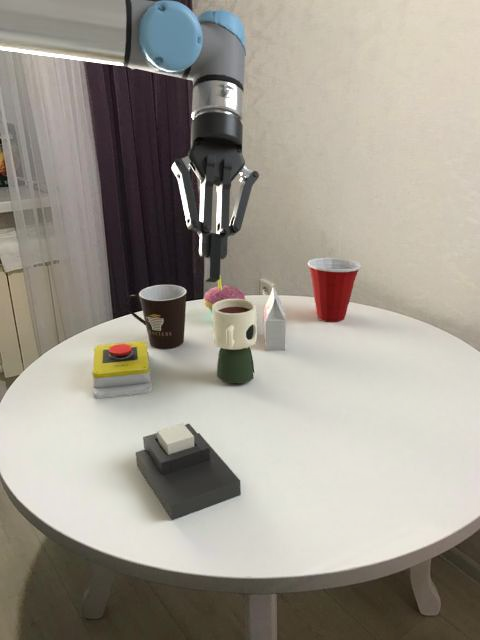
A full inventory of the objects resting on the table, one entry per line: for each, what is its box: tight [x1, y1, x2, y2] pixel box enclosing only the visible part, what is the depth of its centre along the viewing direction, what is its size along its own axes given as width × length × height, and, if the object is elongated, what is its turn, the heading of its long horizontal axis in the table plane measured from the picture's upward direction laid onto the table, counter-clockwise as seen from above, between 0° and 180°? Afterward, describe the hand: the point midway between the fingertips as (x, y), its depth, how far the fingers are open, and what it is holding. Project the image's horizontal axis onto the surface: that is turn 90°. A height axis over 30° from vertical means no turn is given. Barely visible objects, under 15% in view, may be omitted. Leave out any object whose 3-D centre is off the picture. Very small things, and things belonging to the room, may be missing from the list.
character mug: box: [211, 299, 258, 384], centre depth 96 cm, size 11×7×13 cm, turn 174°
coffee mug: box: [124, 284, 188, 350], centre depth 111 cm, size 12×9×10 cm
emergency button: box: [92, 340, 153, 399], centre depth 99 cm, size 9×4×15 cm
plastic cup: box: [306, 257, 362, 323], centre depth 121 cm, size 11×11×12 cm
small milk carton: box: [263, 287, 287, 351], centre depth 110 cm, size 4×7×10 cm, turn 2°
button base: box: [135, 423, 242, 521], centre depth 74 cm, size 12×9×4 cm
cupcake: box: [203, 276, 246, 315], centre depth 120 cm, size 9×8×12 cm
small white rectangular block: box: [156, 422, 194, 455], centre depth 75 cm, size 4×4×2 cm
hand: (212, 280), depth 84 cm, fingers closed
